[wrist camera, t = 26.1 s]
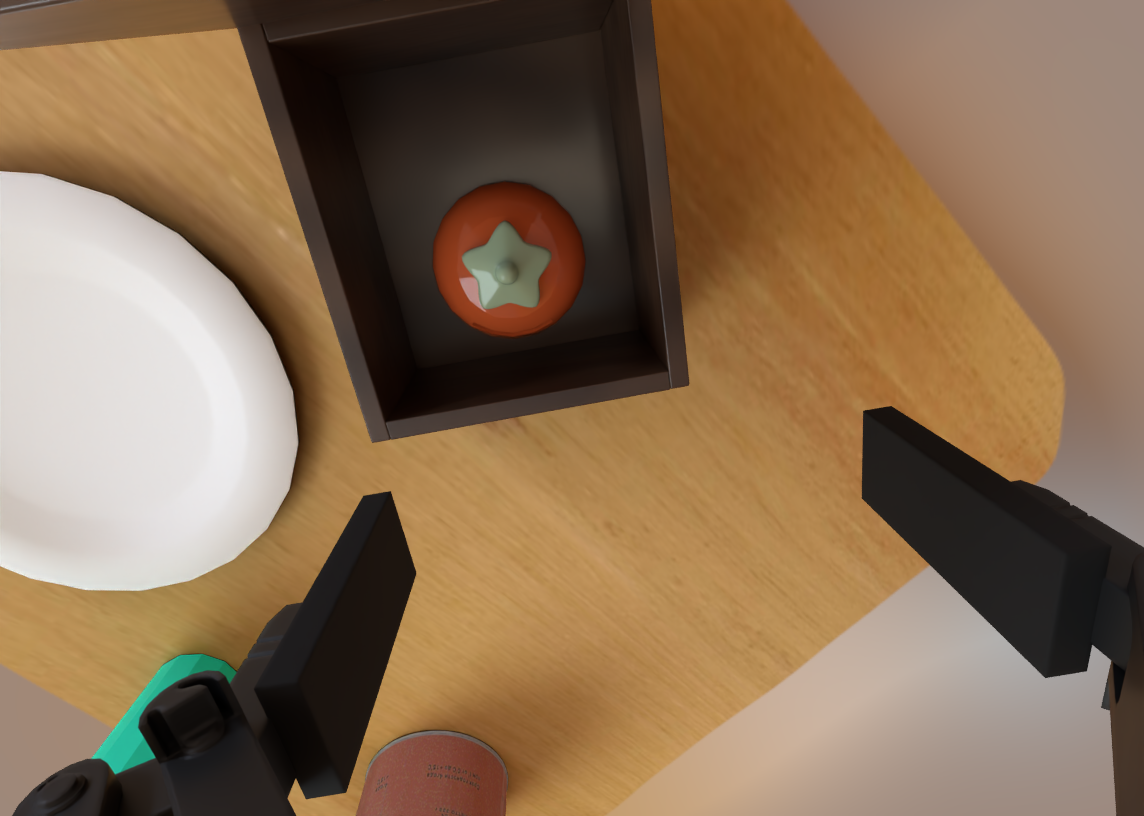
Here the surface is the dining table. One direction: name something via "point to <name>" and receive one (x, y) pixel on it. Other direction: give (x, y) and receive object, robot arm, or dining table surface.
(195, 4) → the lid
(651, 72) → the dark wooden box
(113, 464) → the plate
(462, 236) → the tomato
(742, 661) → the dining table surface
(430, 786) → the canned food
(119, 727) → the candle
